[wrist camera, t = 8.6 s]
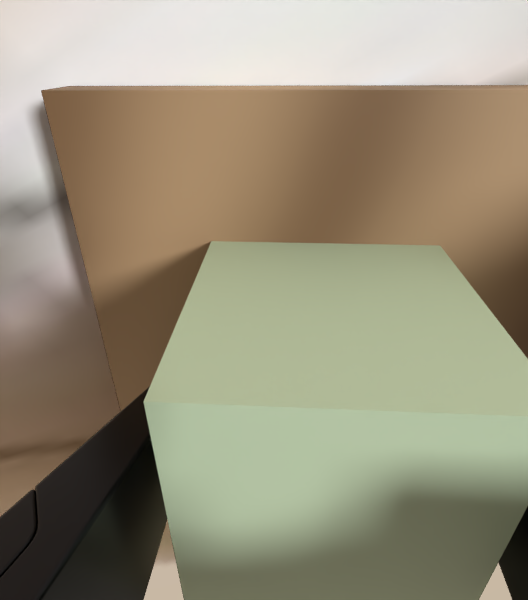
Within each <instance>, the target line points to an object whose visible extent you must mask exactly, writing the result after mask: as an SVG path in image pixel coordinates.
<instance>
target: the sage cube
mask: <svg viewBox="0 0 528 600" xmlns="http://www.w3.org/2000/svg"><path fill="white" fill-rule="evenodd" d="M144 407H145V412H146V417H147V421H148V426H149V431H150V436H151V441H152V446H153V451H154V456H155V461H156V466H157V470H158V475H159V480H160V485H161V490H162V495H163V500H164V505H165V510H166V515H167V519H168V524H169V529H170V534H171V539H172V544H173V549H174V554H175V559H176V563H177V568H178V573H179V578H180V583H181V588H182V592H183V598H184V600H479V598H480V596H481V594H482V592H483V591H484V589H485V587H486V585H487V583H488V581H489V579H490V577H491V575H492V573H493V572H494V570H495V568H496V566H497V564H498V562H499V560H500V558H501V556H502V554H503V552H504V550H505V549H506V547H507V545H508V543H509V541H510V539H511V537H512V535H513V533H514V531H515V529H516V527H517V526H518V524H519V522H520V520H521V518H522V516H523V514H524V512H525V510H526V508H527V506H528V359H527V357H526V356H525V355H524V353H523V352H522V351H521V350H520V348H519V347H518V346H517V344H516V343H515V342H514V340H513V339H512V338H511V337H510V335H509V334H508V333H507V331H506V330H505V329H504V328H503V326H502V325H501V324H500V322H499V321H498V320H497V318H496V317H495V316H494V315H493V313H492V312H491V311H490V309H489V308H488V307H487V305H486V304H485V303H484V302H483V300H482V299H481V298H480V296H479V295H478V294H477V293H476V291H475V290H474V289H473V287H472V286H471V285H470V283H469V282H468V281H467V280H466V278H465V277H464V276H463V274H462V273H461V272H460V270H459V269H458V268H457V267H456V265H455V264H454V263H453V261H452V260H451V259H450V258H449V256H448V255H447V254H446V252H445V251H444V250H443V248H442V247H441V246H439V245H386V244H332V243H279V242H225V241H211V243H210V246H209V248H208V250H207V253H206V255H205V258H204V260H203V262H202V265H201V267H200V269H199V272H198V274H197V276H196V279H195V281H194V284H193V286H192V288H191V291H190V293H189V295H188V298H187V300H186V302H185V305H184V307H183V310H182V312H181V314H180V317H179V319H178V321H177V324H176V326H175V328H174V331H173V333H172V336H171V338H170V340H169V343H168V345H167V347H166V350H165V352H164V354H163V357H162V359H161V362H160V364H159V366H158V369H157V371H156V373H155V376H154V378H153V380H152V383H151V385H150V388H149V390H148V392H147V395H146V397H145V399H144Z"/></svg>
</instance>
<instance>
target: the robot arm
mask: <svg viewBox="0 0 528 600" xmlns="http://www.w3.org/2000/svg"><path fill="white" fill-rule="evenodd" d="M149 388H150V386H149V387H148V388H147V389H146V390H145V391H143V392H142V393H141V394H140V395H139V396H138V397H137V398H136V399H134V400H133V401H132V402H131V403H130V404H129V405H128V406H126V407H125V408H124V409H123V410H122V411H121V412H120V413H118V414H117V415H116V416H115V417H114V418H113V419H112V420H110V421H109V422H108V423H107V424H106V425H105V426H104V427H102V428H101V429H100V430H99V431H98V432H97V433H96V434H95V435H93V436H92V437H91V438H90V439H89V440H88V441H87V442H85V443H84V444H83V445H82V446H81V447H80V448H79V449H77V450H76V451H75V452H74V453H73V454H72V455H71V456H69V457H68V458H67V459H66V460H65V461H64V462H63V463H62V464H60V465H59V466H58V467H57V468H56V469H55V470H54V471H52V472H51V473H50V474H49V475H48V476H47V477H46V478H44V479H43V480H42V481H41V482H40V483H39V484H38V485H36V487H35V490H31V491H29V492H28V493H27V494H26V495H25V496H24V497H23V498H21V499H20V500H19V501H18V502H17V503H16V504H15V505H13V506H12V507H11V508H10V509H9V510H8V511H6V512H5V513H4V514H3V515H2V516H0V600H143V599H144V596H145V592H146V589H147V586H148V582H149V579H150V576H151V572H152V569H153V566H154V562H155V559H156V555H157V552H158V549H159V545H160V542H161V539H162V535H163V532H164V528H165V525H166V522H167V515H166V510H165V505H164V500H163V495H162V490H161V485H160V480H159V475H158V470H157V466H156V461H155V456H154V451H153V446H152V441H151V436H150V431H149V426H148V421H147V417H146V412H145V407H144V399H145V397H146V395H147V392H148V390H149ZM499 565H500V567H501V570H502V573H503V575H504V578H505V581H506V584H507V586H508V589H509V592H510V594H511V597H512V600H528V506H527V508H526V510H525V512H524V514H523V516H522V518H521V520H520V522H519V524H518V526H517V527H516V529H515V531H514V533H513V535H512V537H511V539H510V541H509V543H508V545H507V547H506V549H505V550H504V552H503V554H502V556H501V558H500V560H499Z"/></svg>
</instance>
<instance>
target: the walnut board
mask: <svg viewBox="0 0 528 600" xmlns="http://www.w3.org/2000/svg"><path fill="white" fill-rule="evenodd" d="M41 92H42V96H43V100H44V104H45V108H46V112H47V116H48V120H49V124H50V128H51V132H52V136H53V140H54V144H55V148H56V152H57V156H58V160H59V164H60V169H61V173H62V177H63V181H64V185H65V189H66V193H67V197H68V201H69V205H70V209H71V213H72V217H73V221H74V225H75V229H76V233H77V237H78V241H79V245H80V249H81V253H82V257H83V261H84V265H85V269H86V273H87V277H88V281H89V285H90V289H91V294H92V298H93V302H94V306H95V310H96V314H97V318H98V322H99V326H100V330H101V334H102V338H103V342H104V346H105V350H106V354H107V358H108V362H109V366H110V370H111V374H112V378H113V382H114V386H115V390H116V394H117V398H118V402H119V406H120V410H121V411H122V410H123V409H124V408H125V407H126V406H128V405H129V404H130V403H131V402H132V401H133V400H134V399H136V398H137V397H138V396H139V395H140V394H141V393H142V392H143V391H145V390H146V389H147V388H148V387H149V386H150V385H151V383H152V380H153V378H154V376H155V373H156V371H157V369H158V366H159V364H160V362H161V359H162V357H163V354H164V352H165V350H166V347H167V345H168V343H169V340H170V338H171V336H172V333H173V331H174V328H175V326H176V324H177V321H178V319H179V317H180V314H181V312H182V310H183V307H184V305H185V302H186V300H187V298H188V295H189V293H190V291H191V288H192V286H193V284H194V281H195V279H196V276H197V274H198V272H199V269H200V267H201V265H202V262H203V260H204V258H205V255H206V253H207V250H208V248H209V246H210V243H211V241H225V242H279V243H332V244H386V245H439V246H441V247H442V248H443V250H444V251H445V252H446V254H447V255H448V256H449V258H450V259H451V260H452V261H453V263H454V264H455V265H456V267H457V268H458V269H459V270H460V272H461V273H462V274H463V276H464V277H465V278H466V280H467V281H468V282H469V283H470V285H471V286H472V287H473V289H474V290H475V291H476V293H477V294H478V295H479V296H480V298H481V299H482V300H483V302H484V303H485V304H486V305H487V307H488V308H489V309H490V311H491V312H492V313H493V315H494V316H495V317H496V318H497V320H498V321H499V322H500V324H501V325H502V326H503V328H504V329H505V330H506V331H507V333H508V334H509V335H510V337H511V338H512V339H513V340H514V342H515V343H516V344H517V346H518V347H519V348H520V350H521V351H522V352H523V353H524V355H525V356H526V357H527V359H528V85H431V86H67V87H61V88H54V89H48V90H41Z"/></svg>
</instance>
